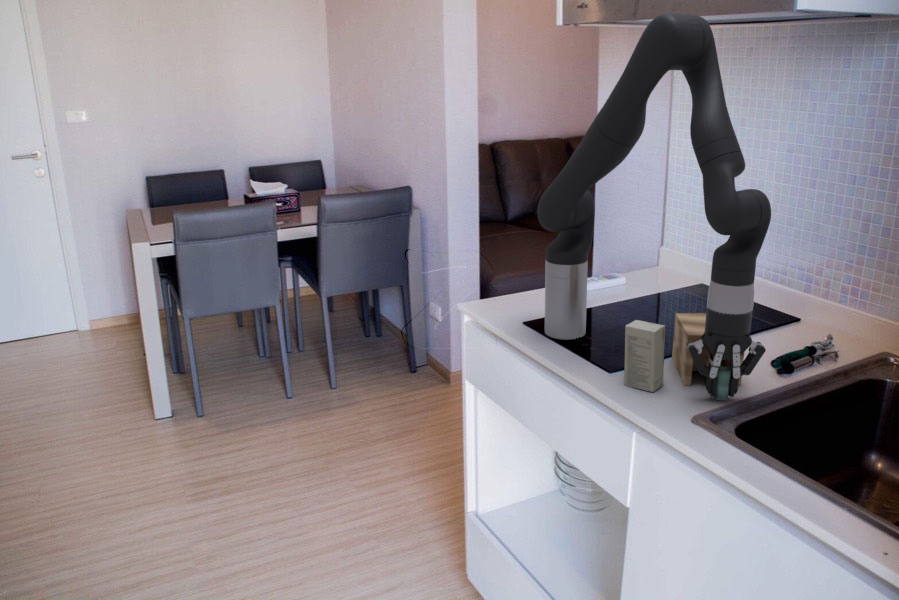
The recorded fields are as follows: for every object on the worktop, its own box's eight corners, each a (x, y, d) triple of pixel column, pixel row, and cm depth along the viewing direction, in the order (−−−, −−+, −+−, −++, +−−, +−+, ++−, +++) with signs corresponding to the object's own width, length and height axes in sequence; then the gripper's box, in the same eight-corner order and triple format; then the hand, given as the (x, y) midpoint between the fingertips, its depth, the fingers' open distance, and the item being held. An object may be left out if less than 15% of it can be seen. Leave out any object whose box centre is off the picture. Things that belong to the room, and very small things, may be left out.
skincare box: (663, 385, 142) (667, 325, 138) (652, 393, 139) (656, 332, 135) (633, 376, 146) (636, 318, 142) (621, 384, 143) (624, 324, 139)
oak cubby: (671, 359, 153) (675, 313, 150) (724, 360, 152) (728, 313, 149) (684, 385, 142) (688, 335, 138) (740, 385, 141) (746, 335, 138)
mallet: (685, 360, 151) (687, 335, 149) (710, 360, 151) (713, 335, 149) (708, 400, 134) (711, 372, 133) (736, 400, 134) (739, 372, 132)
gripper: (764, 297, 133) (754, 386, 138) (684, 298, 134) (677, 385, 140) (778, 312, 126) (767, 404, 131) (693, 312, 127) (685, 403, 132)
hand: (720, 394), depth 135 cm, fingers closed on mallet, 2 cm apart
